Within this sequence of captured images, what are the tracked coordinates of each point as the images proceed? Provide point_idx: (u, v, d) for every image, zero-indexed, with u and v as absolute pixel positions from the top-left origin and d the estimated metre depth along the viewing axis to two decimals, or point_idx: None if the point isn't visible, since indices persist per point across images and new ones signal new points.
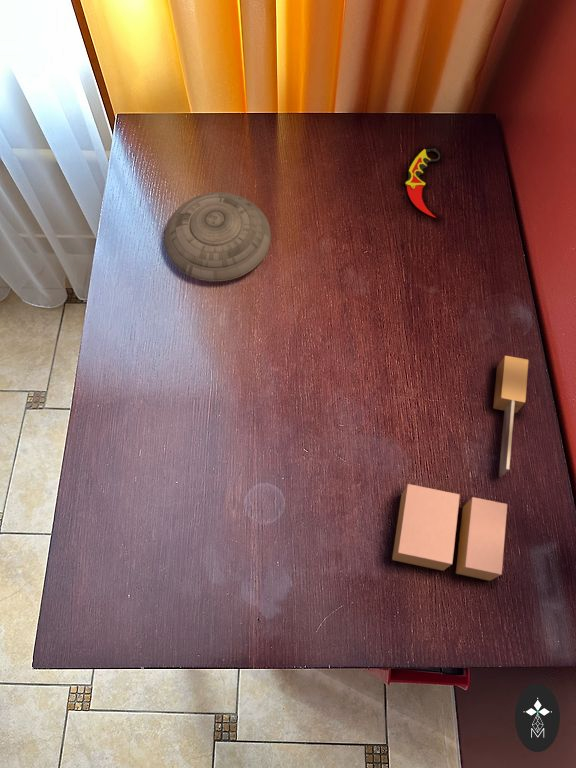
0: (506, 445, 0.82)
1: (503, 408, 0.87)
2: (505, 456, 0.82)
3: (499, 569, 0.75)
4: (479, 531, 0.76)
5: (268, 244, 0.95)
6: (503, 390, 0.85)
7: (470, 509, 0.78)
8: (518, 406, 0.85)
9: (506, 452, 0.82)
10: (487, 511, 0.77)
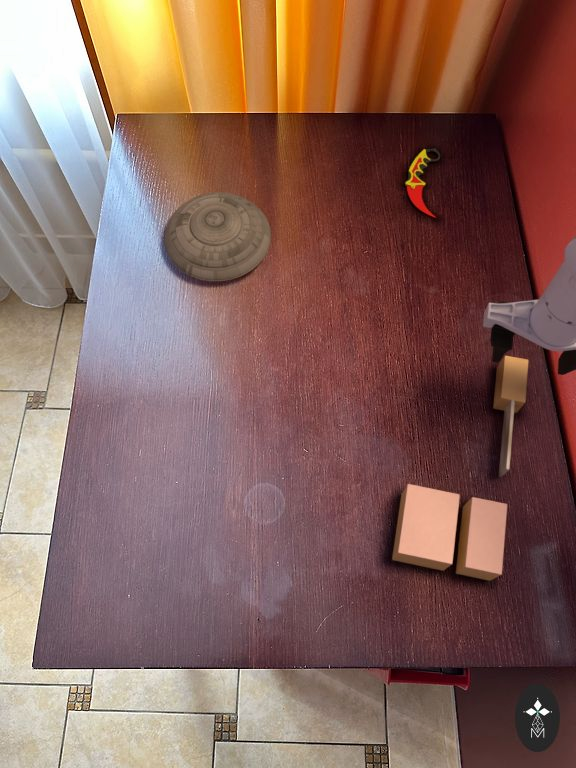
0: (506, 445, 0.82)
1: (503, 408, 0.87)
2: (505, 456, 0.82)
3: (499, 569, 0.75)
4: (479, 531, 0.76)
5: (268, 244, 0.95)
6: (503, 390, 0.85)
7: (470, 509, 0.78)
8: (518, 406, 0.85)
9: (506, 452, 0.82)
10: (487, 511, 0.77)
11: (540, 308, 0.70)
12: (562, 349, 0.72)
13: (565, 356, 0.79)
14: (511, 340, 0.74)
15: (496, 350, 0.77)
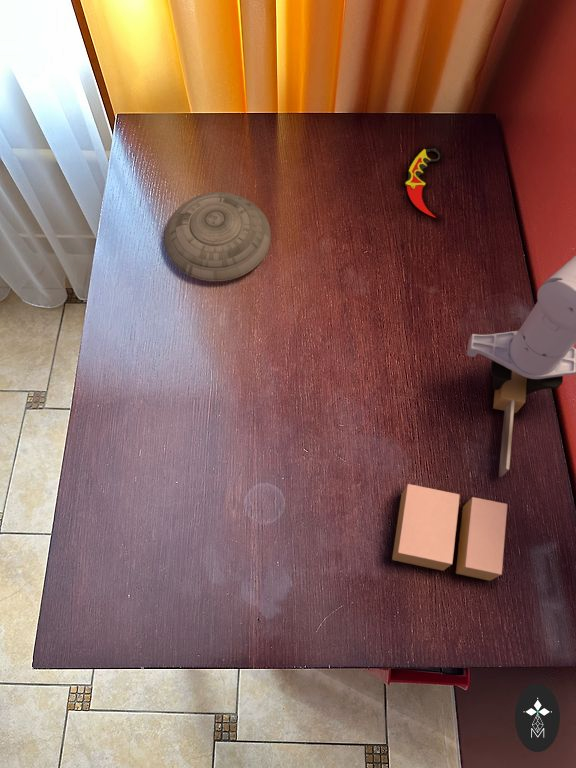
0: (506, 445, 0.82)
1: (503, 408, 0.87)
2: (505, 456, 0.82)
3: (499, 569, 0.75)
4: (479, 531, 0.76)
5: (268, 244, 0.95)
6: (503, 390, 0.85)
7: (470, 509, 0.78)
8: (518, 406, 0.85)
9: (506, 452, 0.82)
10: (487, 511, 0.77)
11: (518, 340, 0.76)
12: (539, 377, 0.78)
13: (527, 378, 0.85)
14: (510, 371, 0.80)
15: (496, 380, 0.83)
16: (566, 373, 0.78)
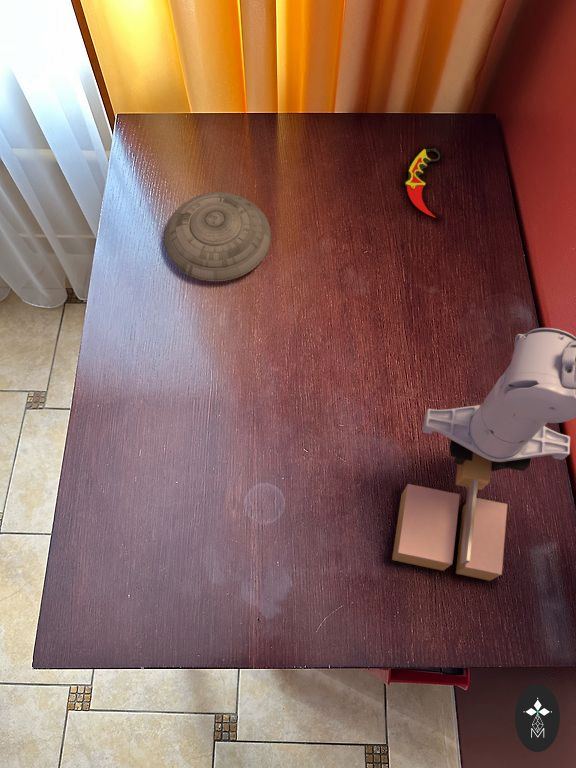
0: (467, 531, 0.73)
1: (466, 485, 0.77)
2: (466, 544, 0.73)
3: (499, 569, 0.75)
4: (479, 531, 0.76)
5: (268, 244, 0.95)
6: (465, 467, 0.75)
7: None
8: (482, 484, 0.76)
9: (467, 540, 0.72)
10: (487, 511, 0.77)
11: (477, 421, 0.67)
12: (503, 460, 0.69)
13: None
14: (471, 450, 0.71)
15: (457, 457, 0.74)
16: (533, 455, 0.69)
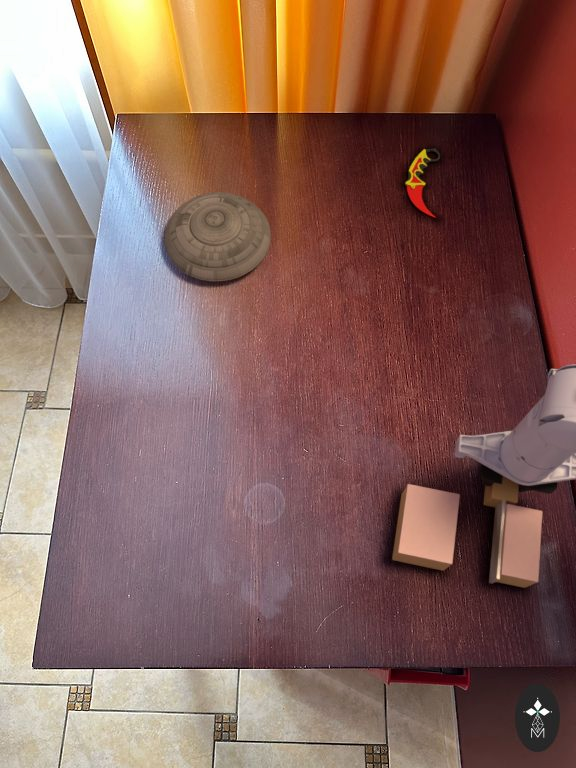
0: (497, 550, 0.77)
1: (494, 505, 0.81)
2: (495, 563, 0.76)
3: (535, 576, 0.74)
4: (515, 538, 0.76)
5: (268, 244, 0.95)
6: (493, 489, 0.79)
7: (505, 516, 0.77)
8: None
9: (496, 559, 0.76)
10: (522, 518, 0.77)
11: (509, 447, 0.70)
12: (532, 484, 0.72)
13: None
14: (501, 474, 0.75)
15: None
16: (561, 479, 0.72)
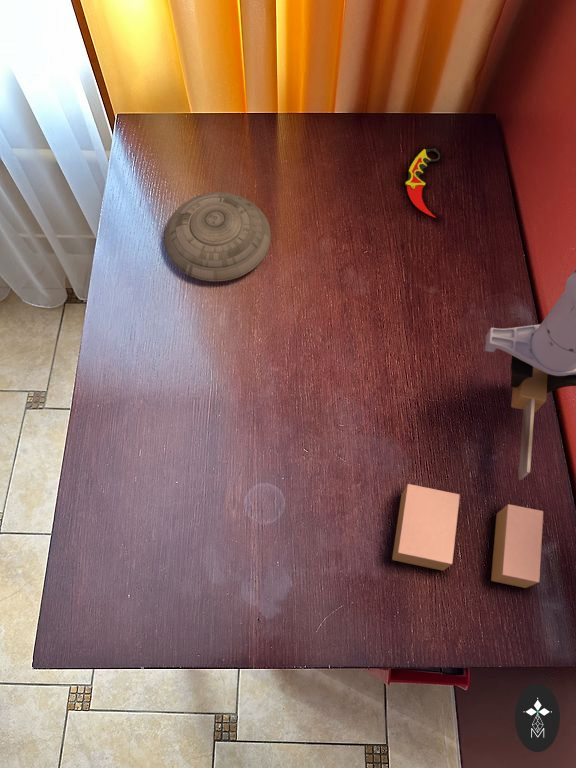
0: (526, 446, 0.77)
1: (522, 407, 0.82)
2: (525, 458, 0.77)
3: (536, 577, 0.74)
4: (516, 538, 0.76)
5: (268, 244, 0.95)
6: (522, 388, 0.79)
7: (506, 516, 0.77)
8: (538, 405, 0.80)
9: (526, 454, 0.77)
10: (523, 518, 0.77)
11: (541, 334, 0.71)
12: (563, 374, 0.73)
13: (548, 375, 0.80)
14: (531, 368, 0.75)
15: (516, 377, 0.78)
16: None
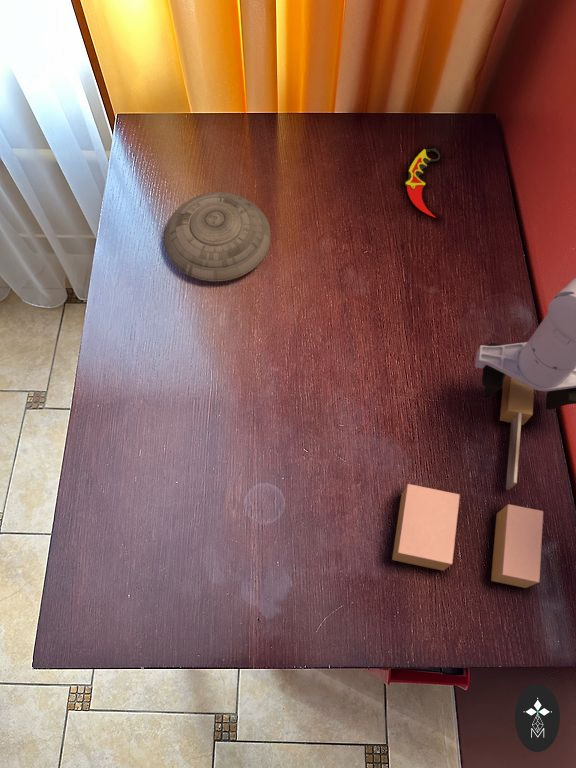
0: (513, 458, 0.82)
1: (510, 420, 0.86)
2: (512, 469, 0.81)
3: (536, 577, 0.74)
4: (516, 538, 0.76)
5: (268, 244, 0.95)
6: (510, 403, 0.84)
7: (506, 516, 0.77)
8: (525, 418, 0.85)
9: (513, 465, 0.81)
10: (523, 518, 0.77)
11: (527, 352, 0.75)
12: (548, 389, 0.77)
13: (552, 392, 0.84)
14: (501, 380, 0.80)
15: (487, 388, 0.82)
16: None
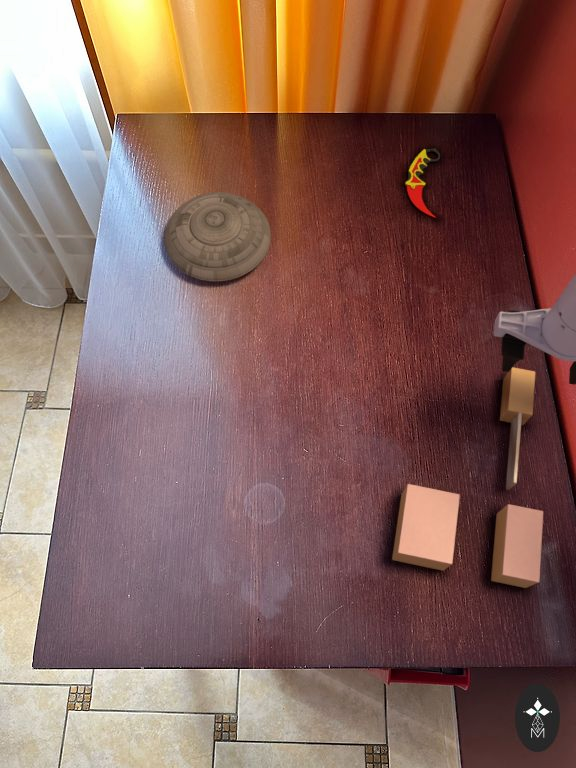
0: (513, 458, 0.82)
1: (510, 420, 0.86)
2: (512, 469, 0.81)
3: (536, 577, 0.74)
4: (516, 538, 0.76)
5: (268, 244, 0.95)
6: (510, 403, 0.84)
7: (506, 516, 0.77)
8: (525, 418, 0.85)
9: (513, 465, 0.81)
10: (523, 518, 0.77)
11: (552, 318, 0.68)
12: (575, 359, 0.70)
13: None
14: (522, 350, 0.73)
15: (507, 360, 0.75)
16: None
